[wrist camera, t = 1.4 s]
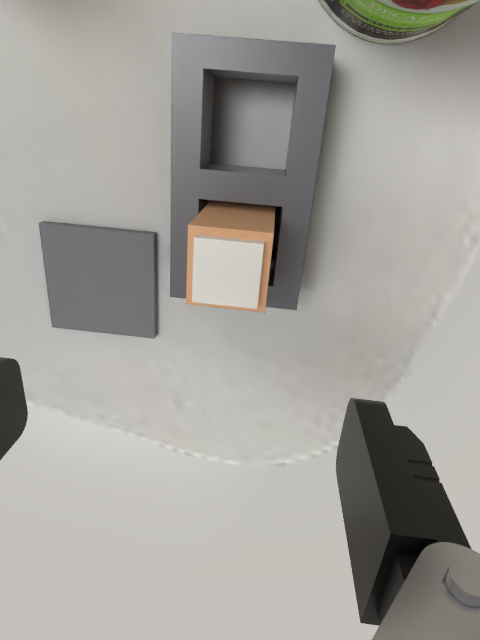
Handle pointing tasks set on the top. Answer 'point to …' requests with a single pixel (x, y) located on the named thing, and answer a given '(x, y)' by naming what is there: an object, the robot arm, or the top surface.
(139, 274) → the mat
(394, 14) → the coffee can
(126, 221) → the top surface
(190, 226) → the plug
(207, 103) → the grey block holder
